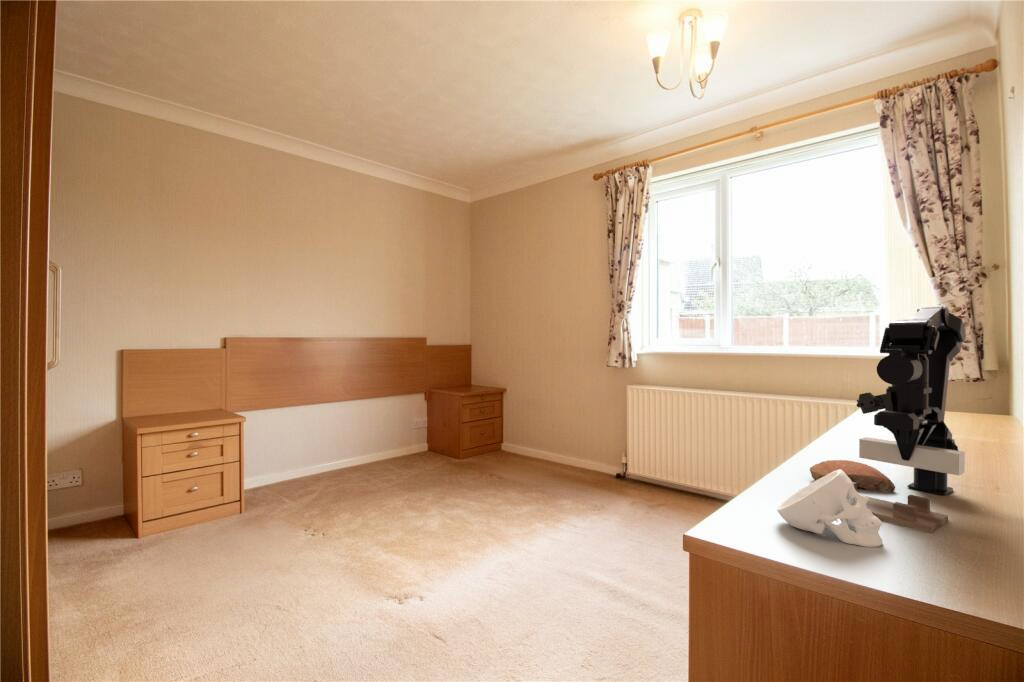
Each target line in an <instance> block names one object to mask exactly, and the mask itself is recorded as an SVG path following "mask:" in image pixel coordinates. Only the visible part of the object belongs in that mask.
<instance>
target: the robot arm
mask: <svg viewBox="0 0 1024 682" xmlns="http://www.w3.org/2000/svg"><path fill="white" fill-rule="evenodd" d="M965 327H966V326H965V324H964V321H963V320H962V319H961V318H960V317H959V316H956V315H954V314H953V313H951V312H950V311H949V308H948V307H946V306H943V305H942V306H941V305H940V306H921V307H919V308H917V310H916V312H915V313H914V314H913V315H912V316H910V317H909V318H907V319H897V320H895V319H894V320H890V322H889V323H888V326H885V328H884V332H883V336H882V340H881V345H880V349H879V353H880V354H888V355H887V356H884V357H883V358H882V359H880V360H879V361H878V363H877V366H876V373H877V375H878V377H879V378H880V379H881V380H882V381H883V382H884V383H886V384H889V386H887V387H886V390H885V393H883V394H878V395H874V394H873V393H872V392H871V391H870V392H864V393H859V395H858V399H856V402H857V403H856V407H857V408H860V410H861V412H862V414H863V415H864V414H865V415H866V414H869V413H875V412H876V413H875V414H874V415H873V424H874V426H878V427H883V428H885V429H887V430H888V431H890V433H892V435H893V436H894V439H895V442H896V443H897V446H898V449H899V452H900V455H901V458H902V459H903V460H907V461H909V460H910V458H911V456H912V454H913V452H914V450H915V448H916V445H922V446H929V447H936V448H942V449H949V450H956V451H959V446H958V445H957V444H956V442H955V441H956V440H955V439H953V434H952V432H951V430H950V429H949V427H948V426H947V424H946V423H945V415H946V405H947V396H948V395H947V394H948V386H949V385H948V384H949V376H950V375H949V374H950V365H951V361H952V360H953V359H955V357H956V356H958V355H959V353H960V352H961V351H962V350H961V349H962V343H965V342H966V336H967V335H966V333H967V332H966V328H965ZM878 411H879V412H878ZM907 488H908V489H913V490H918V491H921V492H928V493H933V494H938V495H941V496H943V495H944V496H947V495H948V494H949V493H951V492H953V491H954V488H953V487H950V486H948V474H947V473H942V472H936V471H931V470H925V469H920V468H914V467H913V482H912V483H909V484H907Z"/></svg>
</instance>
